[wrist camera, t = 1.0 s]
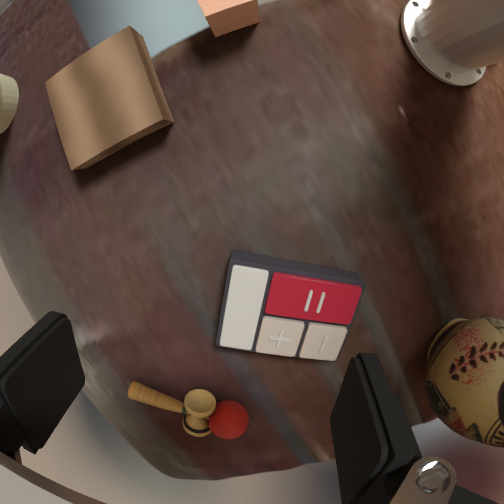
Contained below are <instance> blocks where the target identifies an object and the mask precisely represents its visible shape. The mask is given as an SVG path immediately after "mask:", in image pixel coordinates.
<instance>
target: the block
mask: <svg viewBox="0 0 504 504" xmlns="http://www.w3.org/2000/svg"><path fill="white" fill-rule="evenodd" d="M198 3H199V5H200V7H201V9H202V11H203V13H204V16H205V18H206V20H207V21H208V24H209V26H210V28H211V30H212V32H213V33H214V35H215V37H218V36H221V35H223V34H226V33H229V32H232V31H234V30H237V29H240V28H243V27H246V26H249V25H252V24H256V23H259V14H258V3H257V0H198Z"/></svg>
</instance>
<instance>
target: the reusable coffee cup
mask: <svg viewBox="0 0 504 504" xmlns="http://www.w3.org/2000/svg"><path fill="white" fill-rule="evenodd" d="M18 99H19V91H18V86H17V83H16V81H15V80H14V79H13V78H11V77H8V76H6V75H3V74H0V134H1V133H3V132H4V131H5V130H6V129H7V128H8V127H9V125H10V124H11V122H12V120H13V118H14V116H15V113H16V110H17V106H18Z"/></svg>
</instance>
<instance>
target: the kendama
mask: <svg viewBox="0 0 504 504" xmlns="http://www.w3.org/2000/svg"><path fill="white" fill-rule="evenodd" d="M128 397H129V398H130V399H133V400H137V401H140V402H143V403H146V404H150V405H152V406H156V407H159V408H162V409H166V410H170V411H174V412H179V413H185V414H184V416H183V427H184V429H185V431H186V432H187V433H189V434H190V435H192V436H196V437H203V436H206V435H208V434H210V433H211V432H213V433H214V434H215V435H216V436H218V437H220V438H223V439H234V438H237V437H239V436H241V435H242V434H243V433H244V432H245V431H246V429H247V428H248V425H249V415H248V412H247V410H246V409H245V407H244V406H243V405H242V404H240V403H238V402H236V401H233V400H223V401H220V402H217V403H216V399H215V397H214V395H213V394H211V393H210V392H209V391H207V390H203V389H194V390H191V391H190V392H188V393H187V395H186V396H185V399H184V403H183V402H181V401H179V400H177V399H175V398H173V397H170V396H168V395H166V394H163V393H160V392H158V391H156V390H154V389H152V388H149V387H147V386H145V385H143V384H141V383H139V382H137V381H133V382H132V383H131V385H130V387H129V390H128Z"/></svg>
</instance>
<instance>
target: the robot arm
mask: <svg viewBox="0 0 504 504" xmlns="http://www.w3.org/2000/svg"><path fill="white" fill-rule="evenodd" d="M401 29H402V33H403V37H404V39H405V42H406V44H407V46H408V48H409V50H410V51H411V53H412V55H413V56H414V57H415V58H416V60H417V61H418V62H419V64H420V65H421V66H422V67H423V68H424V69H425V70H426V71H428V72H429V73H430V74H431V75H433V76H434V77H435V78H437V79H439V80H440V81H442V82H445V83H447V84H449V85H454V86H466V85H471V84H473V83H475V82H477V81H478V80H479V79H480V78H481V77H482V76H483V74H484V72H485V69H486V66H489V65H493V64H497V63H500V62H504V0H410V1H409V2H408V3H407V4H406V5H405V6H404V8H403V10H402V14H401ZM84 383H85V376H84V372H83V369H82V365H81V362H80V358H79V354H78V351H77V347H76V343H75V339H74V335H73V330H72V326H71V322H70V320H69V319H68V318H67V316H66V315H65V314H62V313H58V312H54V311H50V312H49V313H47V314H46V315H45V316H44V317H43V318H42V319H41V320H39V321H38V322H37V323H36V324H35V325H34V326H33V327H32V328H31V329H29V330H28V331H27V332H26V333H25V334H24V335H23V336H22V337H21V338H20V339H19V340H18V341H17V342H15V343H14V344H13V345H12V346H11V347H10V348H9V349H8V350H7V351H6V352H5V353H4V354H3V355H2V356H1V357H0V504H106V503H103V502H100V501H98V500H95V499H93V498H90V497H88V496H85V495H83V494H81V493H78V492H76V491H73V490H71V489H69V488H67V487H65V486H62V485H60V484H58V483H56V482H54V481H52V480H50V479H48V478H46V477H44V476H42V475H40V474H38V473H36V472H34V471H33V470H31V469H29V468H27V467H25V466H24V465H22V462H21V456H20V451H19V449H20V447H21V446H23V448H24V449H26V450H28V451H29V452H31V453H33V454H36V452H37V451H38V449H41V448H42V447H43V446H44V445H45V443H46V442H47V440H48V439H49V437H50V436H51V434H52V433H53V431H54V429H55V428H56V426H57V425H58V423H59V422H60V420H61V419H62V417H63V416H64V414H65V413H66V411H67V410H68V408H69V406H70V405H71V404H72V402H73V401H74V399H75V398H76V396H77V395H78V393H79V392H80V390H81V389H82V388H83V386H84ZM330 424H331V431H332V437H333V444H334V450H335V457H336V464H337V471H338V478H339V486H340V493H341V501H342V504H498V503H496V502H494V501H492V500H490V499H487V498H485V497H482V496H480V495H478V494H476V493H474V492H471V491H469V490H467V489H465V488H463V487H461V486H459V485H456V484H455V482H456V475H455V472H454V470H453V468H452V466H451V465H450V464H449V463H448V462H446V461H445V460H443V459H441V458H437V457H425V458H422V455H421V452H420V450H419V447H418V444H417V442H416V439H415V436H414V434H413V431H412V428H411V426H410V423H409V421H408V418H407V416H406V413H405V411H404V408H403V406H402V404H401V401H400V399H399V397H398V395H397V394H396V393H393V392H392V389H391V387H390V384H389V382H388V380H387V377H386V375H385V372H384V370H383V368H382V365H381V363H380V361H379V358H378V356H377V355H376V354H375V353H359V354H357V356H356V358H351V360H350V362H349V365H348V368H347V371H346V374H345V377H344V380H343V383H342V386H341V389H340V392H339V395H338V397H337V400H336V403H335V405H334V408H333V411H332V413H331V418H330Z"/></svg>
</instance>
